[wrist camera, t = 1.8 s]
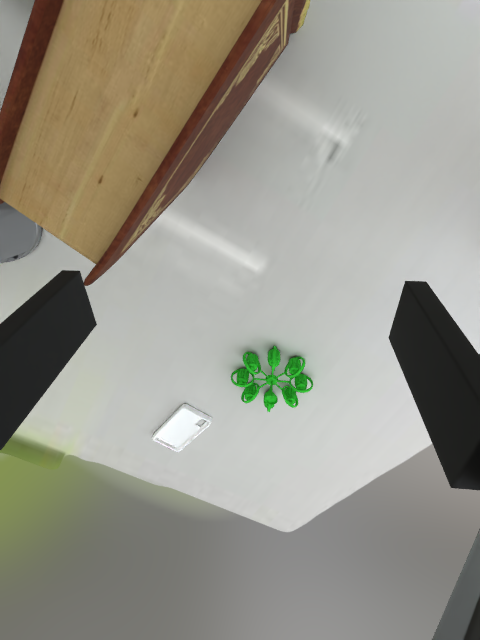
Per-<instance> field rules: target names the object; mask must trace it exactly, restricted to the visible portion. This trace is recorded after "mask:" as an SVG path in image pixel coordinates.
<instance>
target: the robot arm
mask: <svg viewBox="0 0 480 640" xmlns="http://www.w3.org/2000/svg"><path fill="white" fill-rule="evenodd" d="M41 234H42V227H41V226H39V225H38V224H37V223H35V222H34V221H32V220H31V219H29V218H28V217H26V216H25V215H23V214H22V213H20V212H19V211H18V210H16V209H15V208H13V207H12V206H10V205H9V204H7V203H6V202H4V203H2V204H0V263H4V262H10V261H15V260H17V259H20V258H22V257H24V256H26V255H27V254H29V253H30V252H32V251H33V250H34V249H35V248H36V247H37V245H38V244H39V241H40V239H41ZM96 325H97V324H96V321H95V318H94V314H93V311H92V308H91V305H90V302H89V299H88V296H87V292H86V289H85V286H84V283H83V280H82V277H81V273H80V271H66V270H62V271H61V272H60V273H59V274H58V275H56V276H55V277H54V278H53V279H52V280H51V281H50V282H48V283H47V284H46V285H45V286H44V287H43V288H41V289H40V290H39V291H38V292H37V293H36V294H34V295H33V296H32V297H31V298H30V299H29V300H27V301H26V302H25V303H24V304H23V305H22V306H21V307H19V308H18V309H17V310H16V311H15V312H14V313H12V314H11V315H10V316H9V317H8V318H7V319H5V320H4V321H3V322H2V323H1V324H0V450H1V449H2V448H3V447H4V446H5V444H6V443H7V442H8V440H9V439H10V438H11V436H12V435H13V434H14V432H15V431H16V430H17V428H18V427H19V426H20V424H21V423H22V422H23V421H24V419H25V418H26V417H27V415H28V414H29V413H30V411H31V410H32V409H33V407H34V406H35V405H36V403H37V402H38V401H39V400H40V398H41V397H42V396H43V394H44V393H45V392H46V390H47V389H48V388H49V386H50V385H51V384H52V382H53V381H54V380H55V379H56V377H57V376H58V375H59V373H60V372H61V371H62V369H63V368H64V367H65V365H66V364H67V363H68V361H69V360H70V359H71V357H72V356H73V355H74V354H75V352H76V351H77V350H78V348H79V347H80V346H81V344H82V343H83V342H84V340H85V339H86V338H87V336H88V335H89V334H90V333H91V331H92V330H93V329H94V327H95V326H96ZM389 340H390V342H391V345H392V347H393V349H394V352H395V354H396V357H397V359H398V362H399V364H400V366H401V369H402V371H403V374H404V376H405V378H406V381H407V383H408V386H409V388H410V390H411V393H412V395H413V398H414V400H415V402H416V405H417V407H418V410H419V412H420V414H421V417H422V419H423V422H424V424H425V426H426V429H427V431H428V434H429V436H430V438H431V441H432V443H433V445H434V448H435V450H436V453H437V455H438V458H439V460H440V462H441V465H442V467H443V470H444V472H445V474H446V477H447V479H448V482H449V484H450V486H451V488H459V489H472V490H480V354H478V353H477V352H476V350H475V349H474V347H473V346H472V345H471V343H470V342H469V341H468V339H467V338H466V336H465V335H464V334H463V332H462V331H461V329H460V328H459V327H458V325H457V324H456V322H455V321H454V320H453V318H452V317H451V316H450V314H449V313H448V311H447V310H446V309H445V307H444V306H443V304H442V303H441V302H440V300H439V299H438V297H437V296H436V295H435V293H434V292H433V291H432V289H431V288H430V286H429V285H428V284H427V282H420V281H405V284H404V287H403V291H402V294H401V297H400V301H399V304H398V308H397V311H396V314H395V318H394V321H393V325H392V328H391V331H390V335H389ZM432 640H480V529H479V532H478V534H477V537H476V539H475V541H474V543H473V546H472V548H471V550H470V553H469V555H468V557H467V560H466V562H465V564H464V567H463V569H462V572H461V574H460V576H459V578H458V581H457V583H456V585H455V588H454V590H453V592H452V595H451V597H450V599H449V601H448V604H447V606H446V609H445V611H444V613H443V615H442V618H441V620H440V622H439V625H438V627H437V629H436V632H435V634H434V636H433V639H432Z"/></svg>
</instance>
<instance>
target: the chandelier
mask: <svg viewBox="0 0 480 640" xmlns="http://www.w3.org/2000/svg"><path fill="white" fill-rule="evenodd" d="M246 354H248V356H247V359H246ZM299 359H302V360H303V364H302V366H301V362H300V360H299ZM243 362H244V364H245V366H246V368H247V369H238V370H236V371H234V372H233V373H232V375H231V380H232V382H233V384H235V385H236V386H239V387H245V390H244V391H243V393H242V396H241V399H242V401H243V402H244V403H249V402H251V401H252V400H254V399H255V397H256V396H257V394H258V392H259V388H261V387H262V386H264V385H266V384H269V385H270V389H269V391H268V392H266V393H265V395H264V405H265V407H266V408H267V411H268V412H270V409H271V408H273V407H274V404H276V403H277V396H276V395H275V394H274V393H273V392H272V386H273V385H277V384H276V383H277V382H288V383H289V384H290V387H289V386H285V387H283V388H281V387H280V386H279V385H277V386H278V387H279V388H280V389H281V390H282V394H283V397H284V399H285V402H286V403H287V404H288V405H289V406H290V407H292V408H294V407H296V406H297V405H298V399H297V396H296V391H297V392H301V393H305V392H308V391H310V390H311V389H312V387H313V381H312V380H311V378H309V377H308V376H306V375H304V374H300V373H301V372H302V370H303V369H304V367H305V360H304V359H303V358H302V357H294V358H291V359H290V360H289V362H288V364H287V366H286V368H285V372H284V373H282V374H280V375H279V376H277V377H276V376H275V375H273V371H275V367H277V366H278V365H279V362H280V352H279V351H278V350H277V349H276V346H273V349H271V350H270V351H269V353H268V363H269V365H270V366H272V375H268V376H267V375H266V374H265V373H264V372H263V371H261V366H260V363H259V361H258V356H257V355H255V354H252V353H250V352H247V353H245V354H244V355H243ZM257 367H258V372H254V371H255V370H256V369H257ZM288 368H289V371H290V374H291V375H287V370H288ZM260 371H261V372H262V373H263V374H264V375H265V376H266V379H259V378H254V375H253V374H255V375H256V374H258V373H260ZM237 372H238V373H237ZM235 373H237V383H236V382H235V381H234V380H233V378H232V377H233V375H234V374H235ZM249 373H250V374H251V375H252V377H253V380H252V381H251V382H250V383H248V384H247V382H248V378H249ZM283 374H285V375H286V376H287V377H289V378H290V381H280V380H278V377H280V376H281V375H283ZM294 377H295V386H296V388H295V387H293V386H292V384H291V380H292V379H293V378H294ZM254 379H255V380H266V381H267V383H265V384H263V385H262V386H260V387H259V385H258V384H257V383H253V382H254ZM300 379H301V380H300ZM307 379H308V380H309V381H310V382H311V385H312V386H311V387H310V388H309V389H307V390H306V387H307ZM255 385H257V390H256V386H255ZM285 388H286V389H285ZM244 395H245V399H246V400H247V401H244ZM295 401H296V404H295V406H294V405H292V404H294V403H295Z"/></svg>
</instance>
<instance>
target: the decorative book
mask: <svg viewBox="0 0 480 640" xmlns="http://www.w3.org/2000/svg"><path fill="white" fill-rule="evenodd" d="M309 4H310V0H35V2H34V5H33V8H32V12H31V15H30V18H29V21H28V24H27V28H26V31H25V34H24V37H23V41H22V44H21V47H20V50H19V54H18V57H17V60H16V63H15V67H14V70H13V73H12V76H11V79H10V83H9V86H8V89H7V92H6V96H5V99H4V102H3V105H2V109H1V112H0V204H2V203H4V202H6V203H7V204H9V205H10V206H12V207H13V208H15V209H16V210H18V211H19V212H20V213H22V214H23V215H25V216H26V217H28V218H29V219H31V220H32V221H34V222H35V223H37V224H38V225H39V226H41V227H42V228H44V229H45V230H47V231H48V232H50V233H51V234H53V235H54V236H56V237H57V238H58V239H60V240H61V241H63V242H64V243H66V244H67V245H69V246H70V247H72V248H73V249H75V250H76V251H77V252H79V253H80V254H82V255H83V256H85V257H86V258H88V259H89V260H91V261H92V262H94V263H95V264H96V265H95V267H94V268H93V269H92V271H91V272H90V274H89V275H88V276H87V277H86V279H85V281H84V285H85V286H88V285H90V284H92V283H93V282H94V281H95V280H97V279H98V278H99V277H100V276H101V275H102V274H104V273H105V272H106V271H107V270H108V269H109V268H110V267H111V266H112V265H113V264H115V263H116V262H117V260H118V259H119V258H120V257H121V256H122V255H123V254H124V253H125V252H126V251H127V250H128V249H129V248H130V247H131V246H132V245H133V244H134V243H135V241H136V240H137V239H138V238H139V237H140V236H141V235H142V234H143V233H144V232H145V231H146V230H147V229H148V227H149V226H150V225H151V224H152V223H153V222H154V221H155V220H156V219H157V218H158V217H159V216H160V215H161V214H162V212H163V211H164V210H165V209H166V208H167V207H168V206H169V205H170V204H171V203H172V202H173V201H174V200H175V199H176V197H177V196H178V195H179V194H180V193H181V192H182V191H183V190H184V189H185V188H186V187H187V185H188V184H189V183H190V181H191V180H192V179H193V177H194V176H195V175H196V173H197V172H198V171H199V169H200V168H201V167H202V165H203V164H204V163H205V161H206V160H207V159H208V157H209V156H210V155H211V153H212V152H213V150H214V149H215V148H216V146H217V145H218V143H219V142H220V140H221V139H222V138H223V136H224V135H225V133H226V132H227V130H228V129H229V128H230V126H231V125H232V123H233V122H234V120H235V119H236V118H237V116H238V115H239V113H240V112H241V110H242V109H243V107H244V106H245V105H246V103H247V102H248V100H249V99H250V97H251V96H252V95H253V93H254V92H255V90H256V89H257V87H258V86H259V85H260V83H261V82H262V80H263V79H264V77H265V76H266V75H267V73H268V72H269V70H270V69H271V67H272V66H273V64H274V63H275V62H276V60H277V59H278V57H279V56H280V54H281V53H282V52H283V50H284V49H285V47H286V46H287V44H288V41H289V35H290V34H291V33H295V32H297V31H298V30H299V28H300V27H301V26H302V25H303V23H304V18H305V17H306V13H307V10H308V8H309Z"/></svg>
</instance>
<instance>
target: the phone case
mask: <svg viewBox="0 0 480 640" xmlns="http://www.w3.org/2000/svg"><path fill="white" fill-rule="evenodd" d="M201 418H202V419H204V420H206V422H205V423H204V424H203V425H202V426H199V425H197V424H196V423H197V422H198V421H199V420H200V419H201ZM211 420H212V418H211V417H210V416H208V415H206V414H204V413H202V412H201V411H199V410H197V409H195V408H193V407H191V406H189V405H188V404H183V405H181V406H180V407H179V408H178V410H177V411H176V412H175V413H174V414H173V415H172V416H171V417H170V418H169V419H168V420H167V421H166V422H165V423H164V424H163V425H162V426H161V427H160V428H159V429H158V430H157V431H156V432H155V433H154V435H153V438H152V440H153V441H155V442H157V443H159V444H161V445H163V446H165V447H167V448H169V449H171V450H173V451H176V452H179V451H181V450H182V449H183V448H184V447H185V446H187V445H188V444H189V443H190V442H191V441H192V440H193V439H194V438H196V437H197V436H198V435H199V434H200V433H201V432H202V431H203V430H205V429H206V428H207V427H208V426H209V425H210V424H211ZM157 438H158V439H160V440H162V441H164V442H166V443H168V444H170V445H172V446H174V449H173V448H171V447H169V446H167V445H165V444H163V443H161V442H159V441H157Z"/></svg>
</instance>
